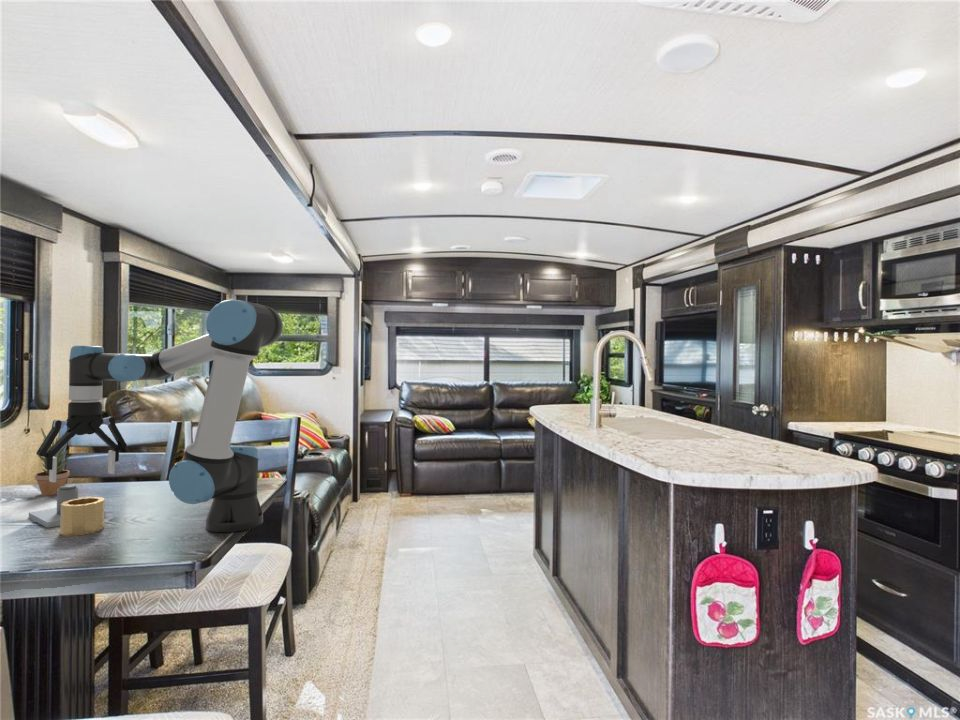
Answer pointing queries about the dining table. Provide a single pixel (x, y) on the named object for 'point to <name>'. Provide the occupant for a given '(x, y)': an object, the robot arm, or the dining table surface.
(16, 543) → the dining table surface
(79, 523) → the bronze sleeve
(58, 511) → the block
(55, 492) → the potted plant
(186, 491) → the robot arm
